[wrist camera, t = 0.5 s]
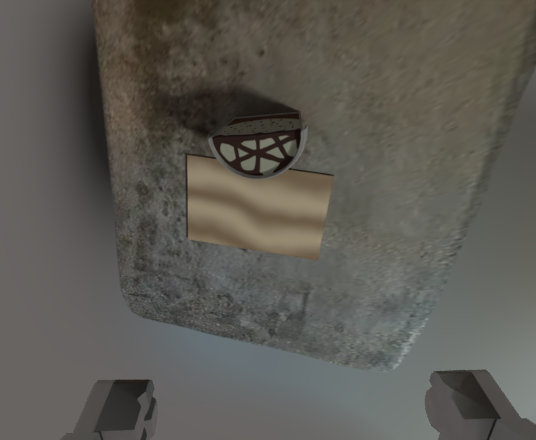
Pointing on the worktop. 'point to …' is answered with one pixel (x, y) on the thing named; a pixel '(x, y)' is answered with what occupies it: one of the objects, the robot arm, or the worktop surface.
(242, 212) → the oak board
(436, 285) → the worktop surface
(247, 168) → the food container
